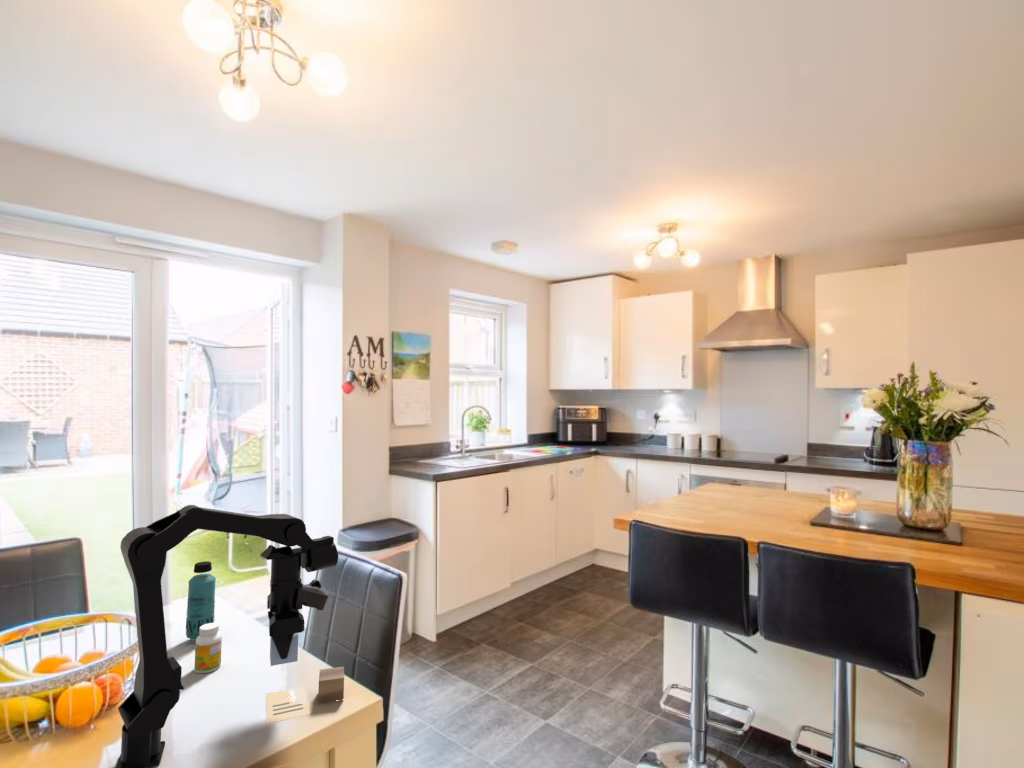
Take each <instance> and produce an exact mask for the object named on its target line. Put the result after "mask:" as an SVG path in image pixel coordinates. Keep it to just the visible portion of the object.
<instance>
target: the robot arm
mask: <svg viewBox="0 0 1024 768" xmlns="http://www.w3.org/2000/svg"><path fill="white" fill-rule="evenodd" d="M304 522H305V521H304V520H302V519H301V518H298V517H296V516H293V515H291V514H287V513H273V514H272V513H270V514H269V513H268V514H263V515H261V514H260V515H259V514H258V515H255V514H248V513H240V512H235V511H228V510H227V511H226V510H220V509H212V508H207V507H199V506H197V505H195V504H188V505H185V506H183V507H182V508H180V509H178V510H177V511H176V512H173V513H171V514H169V515H167V516H165V517H162V518H160V519H157V520H156V521H154V522H151V523H150V524H148V525H147V526H145V527H144V526H143V527H137V528H134V529H132V530H130V531H129V532H127V533H126V534H125V536H124V537H123V538H122V539H121V541H120V552H121V555H122V558H123V561H124V564H125V567H126V569H127V572H128V574H129V577H130V579H131V582H132V589H133V601H134V609H135V611H134V612H135V622H136V632H137V634H136V635H137V644H138V655H139V656H138V657H139V661H138V665H137V668H136V673H135V675H134V676H135V677H134V685H133V691H132V692H131V693H130V694H129V695H128V696H127V697H126V699H124V701H122V703H121V704H120V705H118V708H117V710H118V713H119V715H120V717H121V719H122V721H123V724H122V726H121V741H120V744H121V745H120V746H121V747H120V748H121V749H120V755H119V757H118V759H117V763H116V766H115V768H151V767H154V766H158V765H161V763H162V758H163V754H164V750H165V747H166V741H165V740H163V741H162V729H163V728H164V727H165V725H166V723H167V719H168V718H169V717H168V716H169V715H170V712H171V710H173V709H174V707H175V706H176V704H177V703H178V702H179V701H180V698H181V697H180V695H181V691H183V690H185V687H184V685H183V683H182V673H183V672H182V671H183V670H182V666H181V664H180V663H179V662H178V660H177V659H176V658H175V657H174V655H171V656H170V657H168V647H167V635H166V625H165V623H166V622H165V614H164V602H163V600H164V599H163V591H162V589H163V588H162V577H163V574H164V570H165V568H166V563H167V561H166V560H167V552H169V551H170V550H172V549H174V548H175V547H177V546H178V545H179V544H181V542H183V541H184V540H185V539H186V538H187V537H188V536H190V535H191V534H192V533H194V532H195V531H197V530H203V531H204V530H205V531H212V532H213V531H214V532H220V533H227V534H229V533H230V534H237V535H244V536H254V537H259V538H262V539H265V540H266V541H267V540H268V541H270V542H273V543H276V544H279V545H283V546H281V547H275V546H274V545H272V544H269V545H268V546H267V548H266V549H265V550H263V551H262V552H261V553H260V557H261V558H263V559H265V560H267V561H269V560H271V563H270V564H271V565H270V580H269V582H270V583H269V588H270V589H269V590H270V593H269V594H268V595H267V596H266V597H267V598H266V599H267V602H266V607H267V610H269V611H267V617H268V620H269V621H268V622H269V623H268V633H269V637H270V638H271V637H272V639H273V641H274V644H275V646H276V648H277V651H278V653H279V655H280V658H281V659H286V658H287V656H288V653H289V649H290V645H291V641H292V638H293V635H294V634H295V633H298V634H299V633H303V632H304V631H305V618H304V615H303V614H302V613H301V612H300V611H299V610H303V606H304V607H308V608H312V609H316V610H317V611H324V609H325V607H326V604H327V601H328V599H329V595H330V594H329V592H328V590H327V588H325V587H322V583H321V581H320V580H319V579H312V580H311V581H309V583H305V584H303V582H302V578H301V571H302V570H301V569H304V570H305V571H306V572H307V573H312V572H317V571H321V570H326V569H327V570H328V569H332V568H335V567H336V566H337V565H338V561H339V552H338V549H337V548H338V547H337V546H336V544H335V538H334V537H333V536H331V535H326V536H322V537H319V538H317V537H316V538H313V539H312V538H311V536H310V535H309V533H308V532H307V527H306V524H305V523H304ZM295 546H297V547H295ZM292 547H295V548H292Z"/></svg>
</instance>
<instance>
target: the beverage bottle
mask: <svg viewBox="0 0 1024 768" xmlns="http://www.w3.org/2000/svg"><path fill="white" fill-rule="evenodd" d="M193 566H194V568H193V572H194V573H195V574H196V575H194V576H192V577H191V578H190V579H189V580H188V589H187V602H186V603H187V605H186V607H187V608H186V614H185V616H186V617H185V618H186V619H185V620H186V622H185V636H186V638H187V639H190V640H196V639H197V637H198V636H200V634H199V628H200V627H201V626H202V625H204V624H208V623H215V620H216V619H215V618H216V617H215V616H216V614H215V607H216V605H215V604H216V600H215V596H216V592H215V591H216V577H215V576H214V575H212V574H211V573H209V572H212V570H213V567H212V562H211V561H205V560H204V561H199V562H197V563H195V564H194V565H193Z"/></svg>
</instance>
